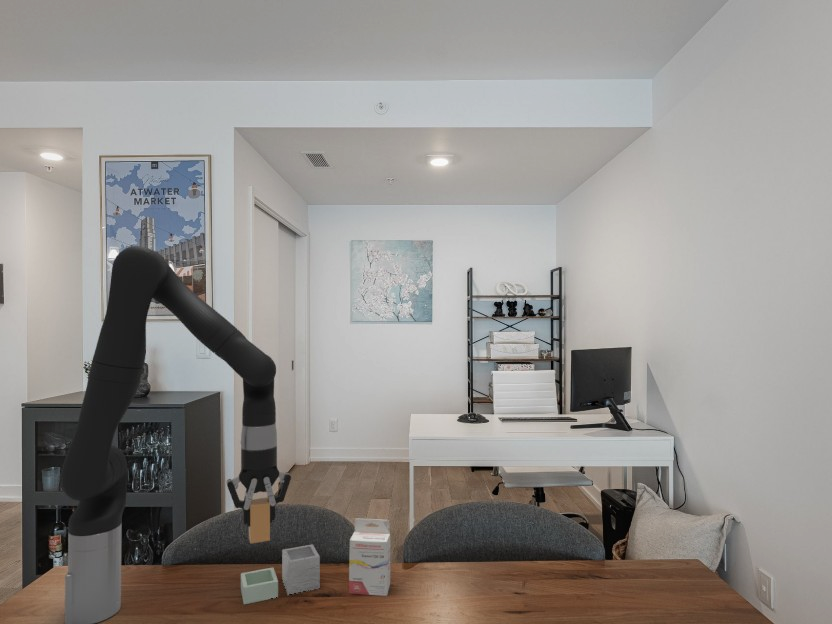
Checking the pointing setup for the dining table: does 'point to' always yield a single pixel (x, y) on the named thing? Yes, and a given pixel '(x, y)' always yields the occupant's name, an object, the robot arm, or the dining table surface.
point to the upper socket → (300, 569)
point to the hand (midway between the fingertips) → (259, 523)
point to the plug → (259, 520)
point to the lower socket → (259, 585)
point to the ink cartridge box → (370, 558)
